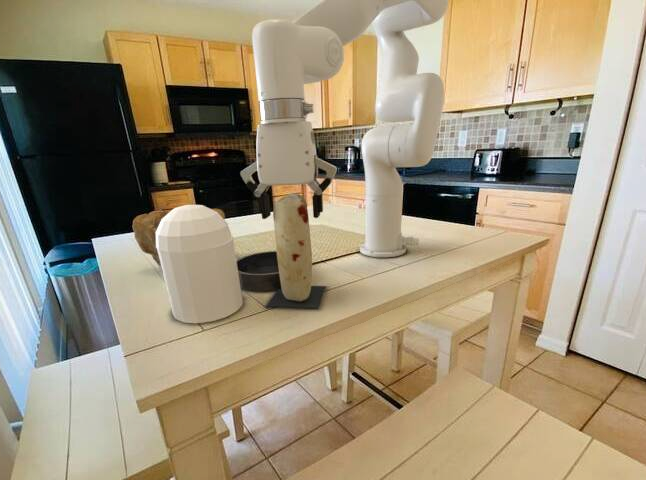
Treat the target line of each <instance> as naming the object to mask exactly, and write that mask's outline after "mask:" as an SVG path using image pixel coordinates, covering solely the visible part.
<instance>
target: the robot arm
mask: <svg viewBox="0 0 646 480" xmlns="http://www.w3.org/2000/svg"><path fill="white" fill-rule="evenodd" d="M449 3H450V1H449V0H319V1H318V2H317V3H316V4H315V5H313V6H312V7H311V8H309V9H308V10H307V11H305V12H304V13H302V14H300V16H298V17H297V18H295V19H294V20H293V21H292V20H289V19H284V18H270V19H266V20H262V21H260V22H257V23H256V24H255V26H254V27H253V29H252V33H251V41H252V42H251V43H252V52H253V61H254V70H255V79H256V90H257V98H258V105H259V117H260V124H257V127H256V145H255V146H256V149H255V151H256V153H255V154H256V161H254V162H253V163H252V164H250V165H249V166H247V167H246V168H244V169H243V170H241V171H240V172H239V174H240V177H241V178H242V180H243V182H244V183H245V184H246V187H247V188H248V189H249V190H250V192H252V193H253V194H254V196H255V197H256V198H257V205H258V206H257V207H258V212H259V214H261V219H262V220H266V219H268V218H270V216H271V215H272V214H271V204H270V196H269V194H267V191H268V190H269V188H270V187H273V186H298V185H299V186H300V185H307V186H308V187H309V188H310V189H311V190H312V191H313V195H311V196H312V198H311V199H312V216H313V218H314V219H318V218H319V217H320V216H321V213H323V212H324V201H323V193H324V192H325V191H326V190H327V188H328V187H329V186H330V185H332V181H333V180H334V177H335V175H336V174H337V170H338V168H337V166H335V165H333V164H331V163H329V162H328V161H325V160H323V159H322V158H319V157H318V155H317V147H316V146H317V145H316V140H315V134H314V129H313V125H312V122H311V121H309V120H308V121H307V118H308V115H310V114H314V113H315V106H314V103H308V102H307V101H306V98H305V97H306V96H305V85H308V84H309V85H310V84H315V83H320V82H324V81H327V80H330V79H333V78H334V77H335V76H337V74H338V73H340V70H341V69H342V68H343V65H344V60H345V49H344V47H345V46H347V45H349V44H350V43H353V42H354V41H355V40H356V41H357V40H358V39H359V38H360V37H361V36H363V34H364V33H365V32H366V30H367V29H368V28H369V27H370V26H371V25H372V28H373V31H374V34H375V36H376V39H377V42H378V45H379V48H380V52H381V60H382V63H381V69H380V75H379V80H378V85H377V86H378V87H377V92H376V98H375V106H374V111H375V115H376V118H377V119H378V120H379V121H381V122H383V123H397V124H388V125H387V124H386V125H379V126H376V127H373V128H370V129H369V130H368V131H366V133H365V134H364V135H363V137H362V140H361V144H360V145H361V146H360V147H361V158H362V162H363V169H364V184H365V193H364V197H365V198H364V199H365V200H364V201H365V202H364V204H365V207H364V208H365V209H364V210H365V211H364V215H365V216H364V218H365V219H364V229H365V231H364V243H362V244H361V245H360V246H359V252H360V254H362V255H364V256H367V257H370V258H371V257H373V258H393V257H395V258H396V257H400V256H402V255H404V254H405V253H406V252H407V246H412V247H414V246H415V247H417V246H419V243H420V242H419V241H420V240H419V238H418V237H416V238H414V237H413V236H408V237H407V236H406V237H405V236H404V235H403V233H402V219H403V218H402V217H403V196H404V195H403V194H404V184H403V180H402V178H401V177H402V176H401V175H400V173H399V171H398V170H397V168H419V167H425V166H426V165H427V164H428V163H430V161H431V159H432V158H433V155H434V152H435V148H436V143H437V139H438V133H439V129H440V125H441V119H442V113H443V109H444V102H445V87H444V86H445V85H444V82H443V80H442V77H440V75H438V74H437V73H434V72H423V73H418V68H419V62H420V56H419V53H418V51H417V49H416V47H415V46H414V44H413V43H412V42H411V40H410V39H409V38H408V36H407V35H406V34H405V32H406V31H410V30H414V29H418V28H422V27H426V26H429V25H433V24H435V23H437V22H439V21H440V20H441V19H442V18H443V17H444V15H445V14H446V12H447V10H448V6H449ZM404 122H412V123H404ZM398 123H401V124H398ZM319 169H320V170H322V171H325V173H326V175H325V177H324V179H323V180H322V182H321V183H320V181H319V180H318V176H319ZM256 172H257V178H258V181H259V184H258V183H257V182H256V181H255V180H254V179H253V176H252V175H253V174H254V173H256Z"/></svg>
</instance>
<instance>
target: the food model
mask: <svg viewBox="0 0 646 480" xmlns="http://www.w3.org/2000/svg"><path fill="white" fill-rule="evenodd" d="M272 214H273V215H272V217H273V227H274V239H275V251H276V252H277V260H278V268H279V275H280V282H281V288H282V293H283V295H284V296H285V298H286V299H288V300H295V301H303V300H306V299H307V298H308V297H309V294H310V292H311V286H312V279H313V253H312V252H313V251H312V241H311V227H310V219H309V212H308V204H307V200H306V199H305V197H304V196H303V195H301V194H299V193H297V192H291V193H288V194H287V195H283V196H282V197H281V198H279V200H277V201H274V203H273V208H272Z"/></svg>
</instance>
